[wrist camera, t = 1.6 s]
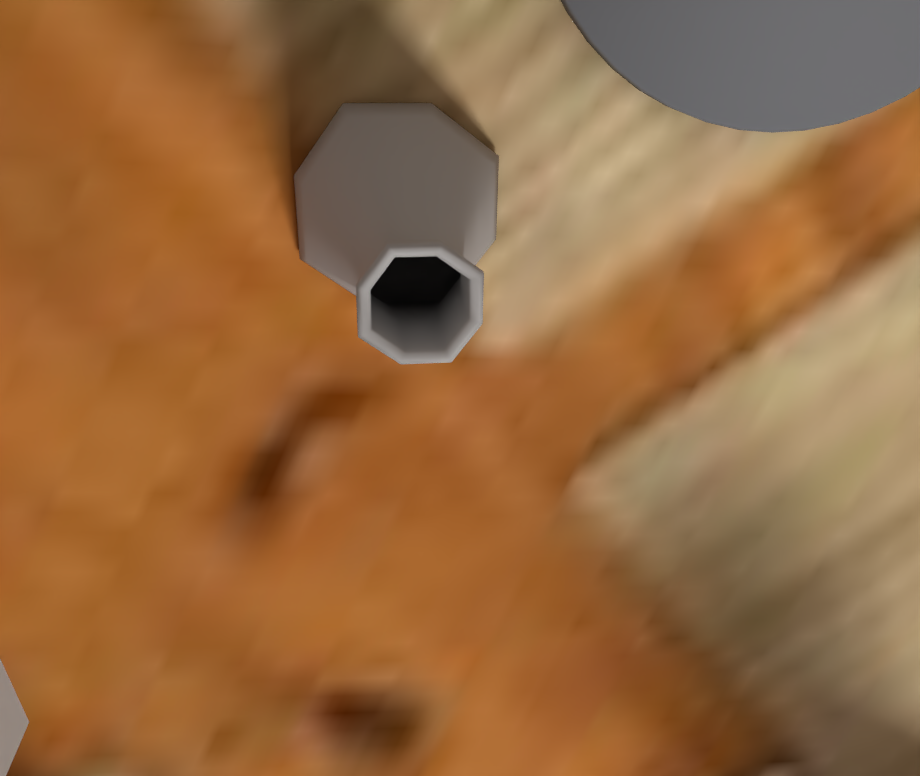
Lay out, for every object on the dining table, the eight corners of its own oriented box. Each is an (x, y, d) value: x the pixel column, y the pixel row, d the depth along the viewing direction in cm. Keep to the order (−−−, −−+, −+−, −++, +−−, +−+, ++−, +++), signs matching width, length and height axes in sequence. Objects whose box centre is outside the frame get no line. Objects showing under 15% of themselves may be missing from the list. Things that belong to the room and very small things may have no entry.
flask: (323, 64, 27) (312, 107, 18) (531, 137, 29) (614, 209, 20) (268, 272, 30) (235, 399, 21) (461, 327, 32) (507, 465, 23)
